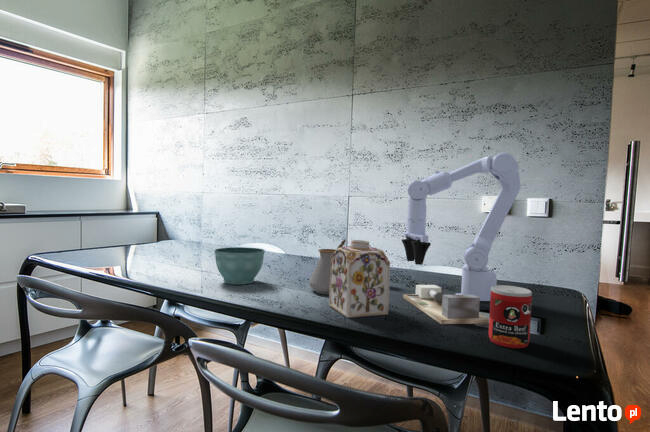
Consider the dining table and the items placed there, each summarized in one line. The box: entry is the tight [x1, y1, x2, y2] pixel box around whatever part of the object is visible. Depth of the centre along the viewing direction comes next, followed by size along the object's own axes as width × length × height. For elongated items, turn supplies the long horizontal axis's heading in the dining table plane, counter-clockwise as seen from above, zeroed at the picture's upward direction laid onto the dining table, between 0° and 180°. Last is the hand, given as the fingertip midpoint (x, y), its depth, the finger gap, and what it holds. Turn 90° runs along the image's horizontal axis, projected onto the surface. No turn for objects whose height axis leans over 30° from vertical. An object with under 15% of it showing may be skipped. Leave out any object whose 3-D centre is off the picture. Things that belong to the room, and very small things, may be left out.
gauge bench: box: [402, 293, 489, 325], centre depth 104 cm, size 12×25×6 cm, turn 9°
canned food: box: [488, 284, 533, 349], centre depth 80 cm, size 8×8×11 cm
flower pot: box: [213, 246, 266, 286], centre depth 128 cm, size 16×16×11 cm
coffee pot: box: [308, 239, 349, 295], centre depth 124 cm, size 21×12×15 cm, turn 158°
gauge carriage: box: [407, 284, 445, 304], centre depth 109 cm, size 9×10×3 cm
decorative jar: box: [328, 239, 391, 319], centre depth 99 cm, size 12×12×18 cm
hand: (414, 262), depth 123 cm, fingers open, 6 cm apart
